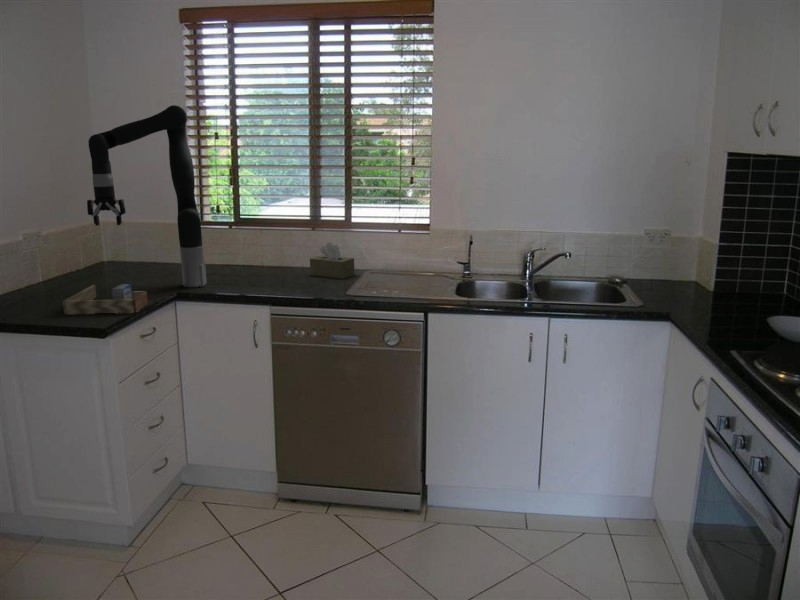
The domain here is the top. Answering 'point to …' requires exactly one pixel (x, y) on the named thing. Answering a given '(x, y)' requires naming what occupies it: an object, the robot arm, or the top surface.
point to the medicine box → (122, 292)
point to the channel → (103, 303)
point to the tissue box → (331, 263)
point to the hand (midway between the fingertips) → (108, 225)
